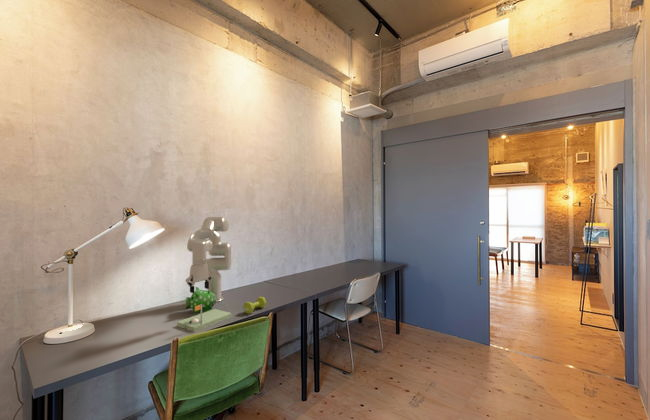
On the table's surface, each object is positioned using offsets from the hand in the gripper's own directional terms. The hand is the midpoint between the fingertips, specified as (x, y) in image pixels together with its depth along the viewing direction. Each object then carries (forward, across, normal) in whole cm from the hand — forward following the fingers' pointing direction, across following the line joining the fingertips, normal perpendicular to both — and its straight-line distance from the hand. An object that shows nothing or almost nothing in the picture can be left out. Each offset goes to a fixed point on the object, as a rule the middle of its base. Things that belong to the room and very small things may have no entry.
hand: (199, 290), depth 175 cm
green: (+20, -3, +1) cm, 20 cm away
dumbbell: (+20, -33, +12) cm, 41 cm away
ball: (+17, +4, +1) cm, 18 cm away
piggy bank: (+20, -13, -17) cm, 29 cm away
